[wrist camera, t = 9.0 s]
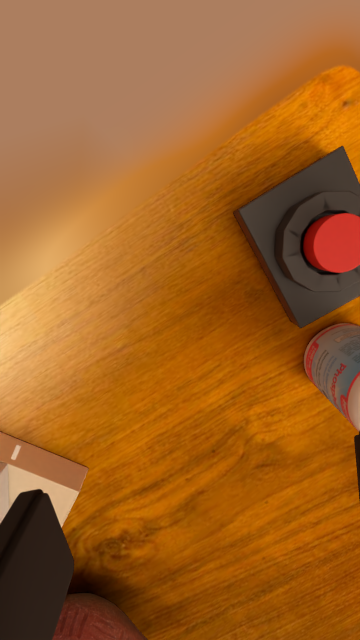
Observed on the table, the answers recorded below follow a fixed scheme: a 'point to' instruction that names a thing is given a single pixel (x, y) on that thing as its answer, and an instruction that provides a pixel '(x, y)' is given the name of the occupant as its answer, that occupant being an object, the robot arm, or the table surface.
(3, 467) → the grey red-tipped block
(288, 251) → the button box
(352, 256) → the button
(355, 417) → the pill bottle
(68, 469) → the switch base
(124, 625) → the bowl
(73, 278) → the table surface
